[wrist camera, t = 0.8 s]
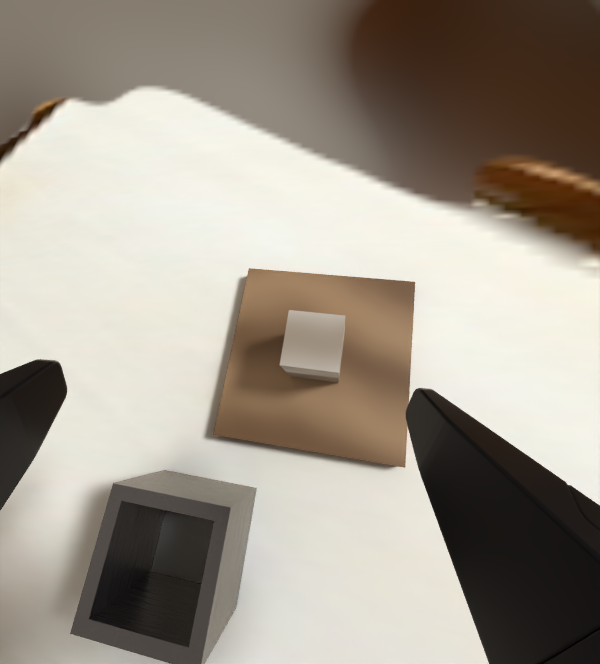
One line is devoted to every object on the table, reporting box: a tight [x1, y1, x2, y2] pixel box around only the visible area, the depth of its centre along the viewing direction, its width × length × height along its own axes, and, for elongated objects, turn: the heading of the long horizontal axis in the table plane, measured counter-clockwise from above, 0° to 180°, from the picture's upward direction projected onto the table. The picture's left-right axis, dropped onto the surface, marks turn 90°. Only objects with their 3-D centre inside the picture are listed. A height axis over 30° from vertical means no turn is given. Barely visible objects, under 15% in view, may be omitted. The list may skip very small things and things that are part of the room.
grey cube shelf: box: [70, 470, 257, 664], centre depth 17 cm, size 6×6×5 cm
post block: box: [213, 268, 415, 467], centre depth 19 cm, size 12×12×5 cm
